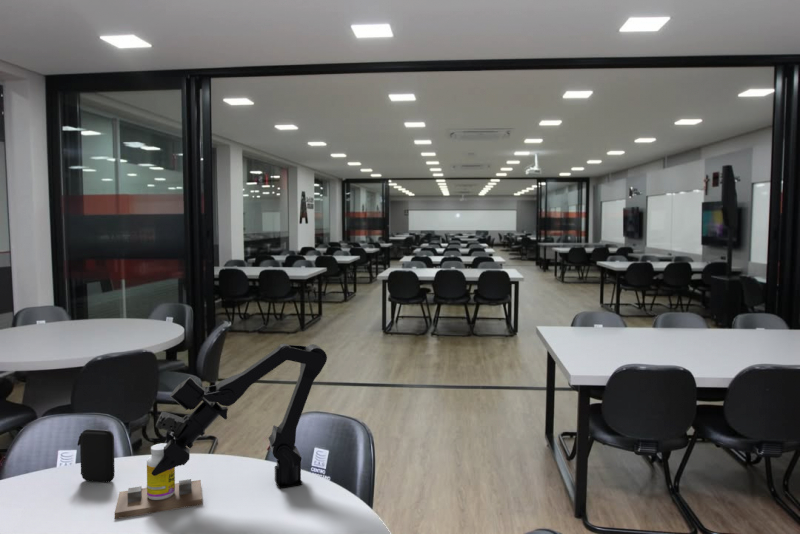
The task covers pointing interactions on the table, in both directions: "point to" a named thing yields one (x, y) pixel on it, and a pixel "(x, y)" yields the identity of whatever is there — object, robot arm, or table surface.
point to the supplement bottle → (159, 476)
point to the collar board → (140, 504)
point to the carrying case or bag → (97, 455)
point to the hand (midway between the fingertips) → (154, 467)
